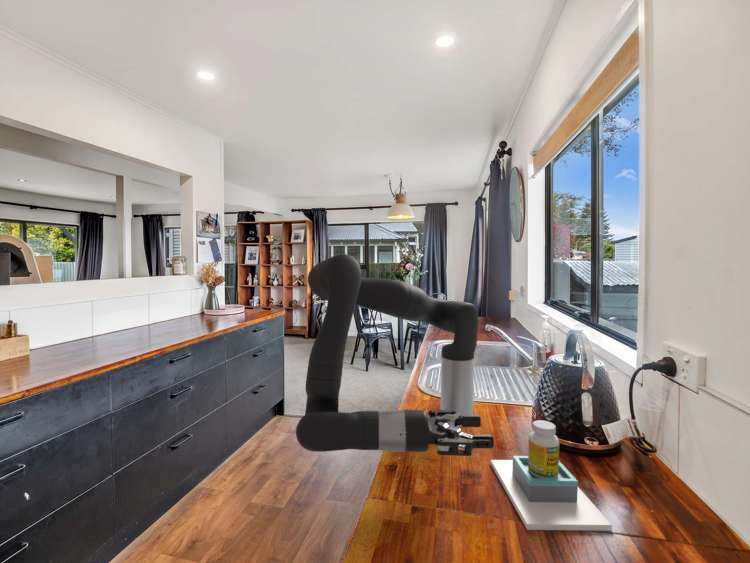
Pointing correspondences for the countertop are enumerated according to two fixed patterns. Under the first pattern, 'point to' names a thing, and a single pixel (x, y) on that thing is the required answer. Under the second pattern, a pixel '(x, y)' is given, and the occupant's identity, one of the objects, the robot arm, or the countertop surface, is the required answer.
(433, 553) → the countertop surface
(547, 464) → the supplement bottle
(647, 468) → the countertop surface
